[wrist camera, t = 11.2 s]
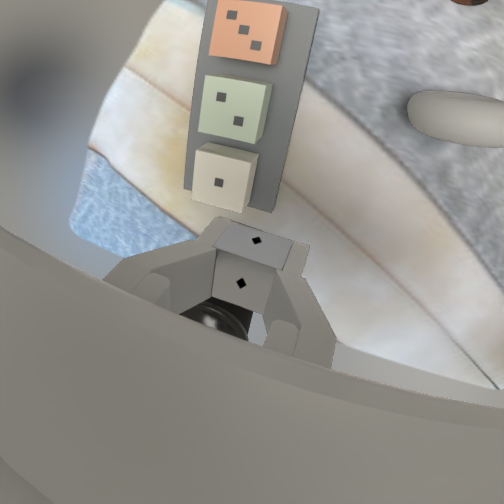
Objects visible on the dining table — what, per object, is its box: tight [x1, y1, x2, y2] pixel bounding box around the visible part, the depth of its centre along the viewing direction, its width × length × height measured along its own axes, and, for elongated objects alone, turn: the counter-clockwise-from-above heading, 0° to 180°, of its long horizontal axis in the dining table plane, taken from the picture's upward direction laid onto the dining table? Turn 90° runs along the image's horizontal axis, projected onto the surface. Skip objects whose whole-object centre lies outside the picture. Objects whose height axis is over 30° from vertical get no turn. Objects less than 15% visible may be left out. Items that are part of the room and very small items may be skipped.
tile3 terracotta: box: [209, 0, 288, 65], centre depth 21 cm, size 5×5×3 cm
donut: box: [407, 90, 504, 148], centre depth 18 cm, size 10×4×10 cm, turn 100°
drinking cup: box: [179, 296, 253, 341], centre depth 29 cm, size 8×8×20 cm
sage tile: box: [198, 73, 273, 144], centre depth 25 cm, size 5×5×3 cm
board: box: [184, 0, 319, 213], centre depth 27 cm, size 21×10×2 cm, turn 170°
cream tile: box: [191, 142, 259, 214], centre depth 30 cm, size 5×5×3 cm
